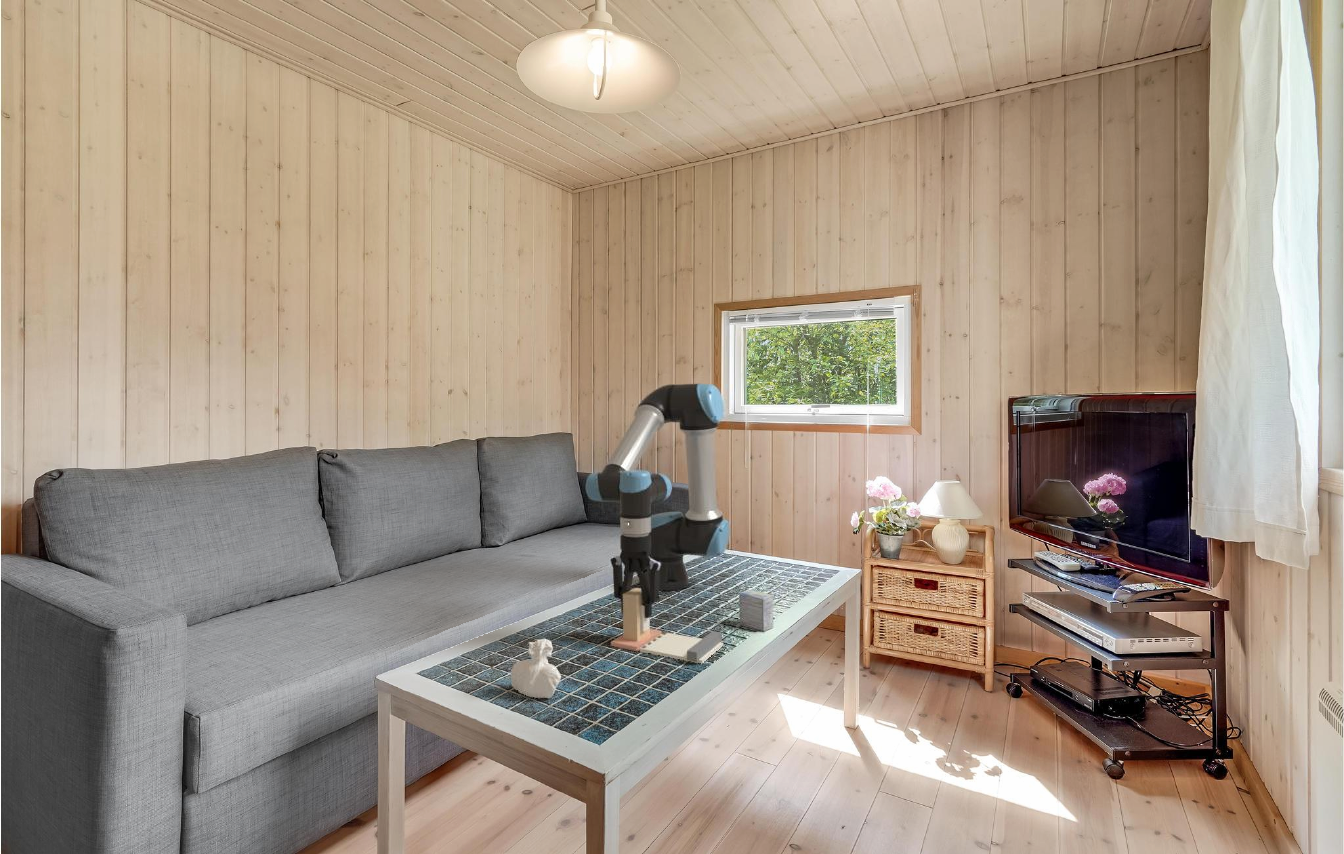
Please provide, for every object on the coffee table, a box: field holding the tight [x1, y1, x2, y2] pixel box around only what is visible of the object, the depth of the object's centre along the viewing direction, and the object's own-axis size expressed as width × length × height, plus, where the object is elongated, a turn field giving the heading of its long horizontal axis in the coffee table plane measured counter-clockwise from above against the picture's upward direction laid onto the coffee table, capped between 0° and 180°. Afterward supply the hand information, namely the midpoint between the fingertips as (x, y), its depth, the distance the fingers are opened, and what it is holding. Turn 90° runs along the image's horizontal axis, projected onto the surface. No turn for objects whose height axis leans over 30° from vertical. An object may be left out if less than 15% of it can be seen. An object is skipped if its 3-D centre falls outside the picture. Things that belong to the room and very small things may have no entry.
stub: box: [610, 587, 663, 652], centre depth 157 cm, size 7×12×12 cm, turn 152°
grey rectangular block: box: [738, 589, 774, 632], centre depth 167 cm, size 8×4×9 cm, turn 47°
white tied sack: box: [509, 638, 562, 699], centre depth 130 cm, size 12×8×11 cm
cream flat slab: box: [639, 630, 724, 665], centre depth 152 cm, size 16×14×3 cm
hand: (636, 628), depth 158 cm, fingers closed on stub, 4 cm apart
